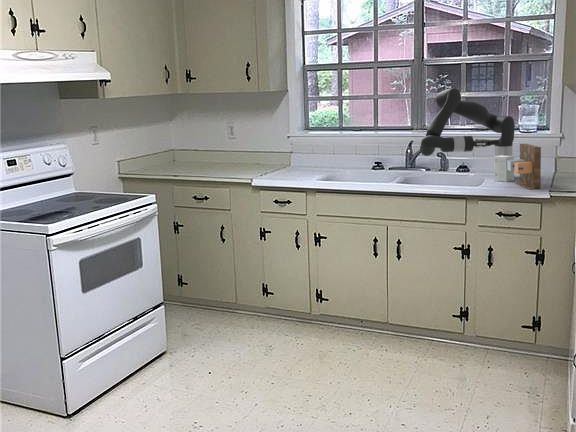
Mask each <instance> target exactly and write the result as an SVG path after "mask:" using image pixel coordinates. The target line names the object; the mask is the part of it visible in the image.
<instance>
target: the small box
mask: <svg viewBox="0 0 576 432" xmlns="http://www.w3.org/2000/svg"><path fill="white" fill-rule="evenodd" d="M493 157H494V158H493V159H494V165H493V166H494V167H493V170H494V172H493V175H494V176H493V177H494V179H493V180H494V182H505V183H508V182H513V181H515V173H514V171H509V170H507V160H515V156H514V155H512V156H504V155H501V156H495V155H494V156H493Z"/></svg>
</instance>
